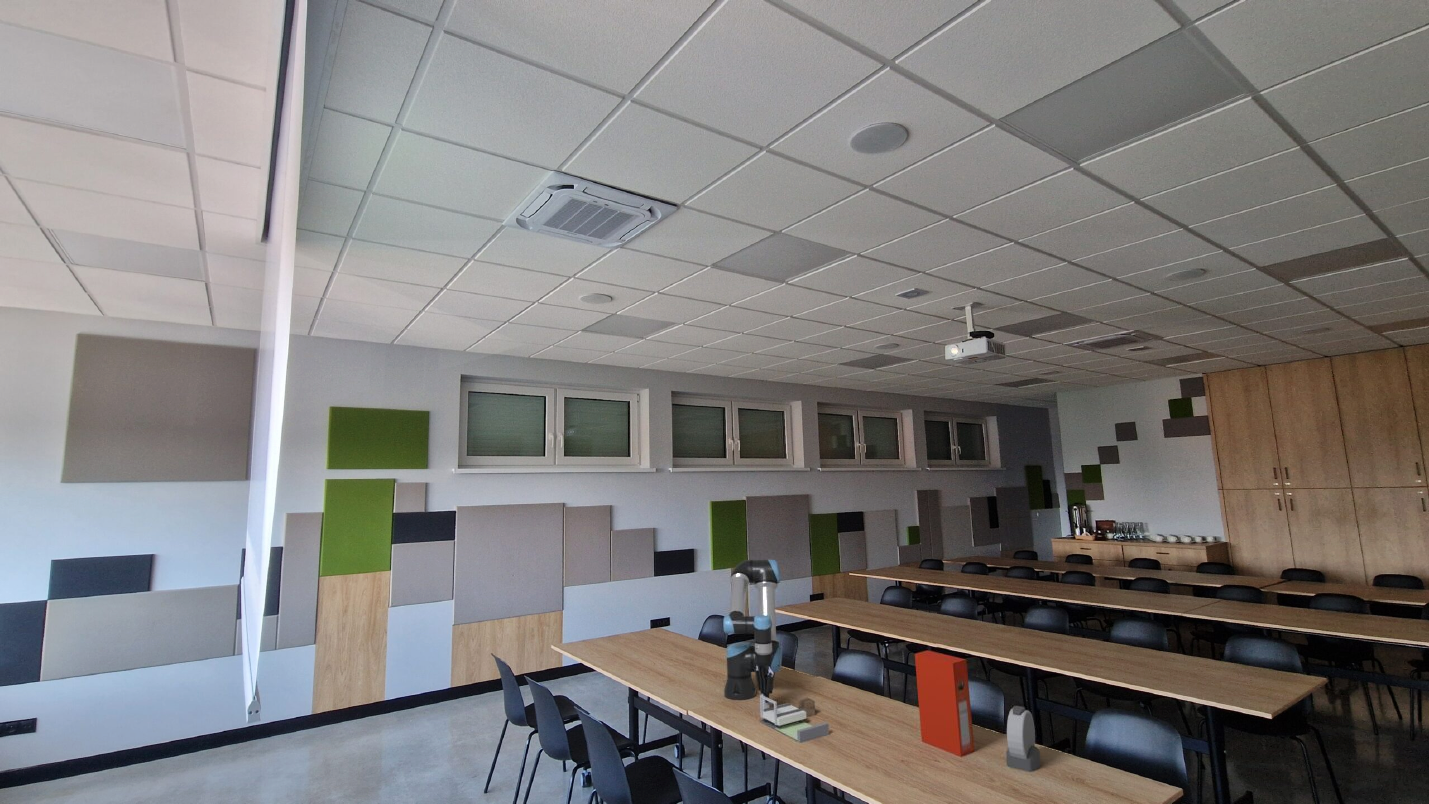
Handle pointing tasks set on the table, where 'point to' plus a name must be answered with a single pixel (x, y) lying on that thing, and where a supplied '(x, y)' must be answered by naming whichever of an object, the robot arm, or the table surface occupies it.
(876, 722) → the table surface
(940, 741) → the file binder
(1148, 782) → the table surface
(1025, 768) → the grey two-tone upright device
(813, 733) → the grey holder base
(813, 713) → the block
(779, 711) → the white tray
